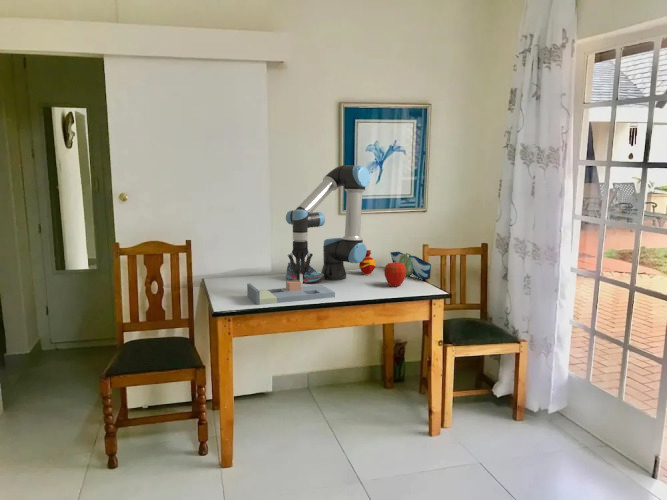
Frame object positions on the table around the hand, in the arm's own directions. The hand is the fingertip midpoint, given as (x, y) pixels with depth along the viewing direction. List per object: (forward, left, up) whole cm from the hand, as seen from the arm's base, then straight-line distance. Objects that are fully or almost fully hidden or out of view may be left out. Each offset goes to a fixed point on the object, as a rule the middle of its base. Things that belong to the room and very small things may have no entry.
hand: (300, 286), depth 273 cm
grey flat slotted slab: (+7, +4, -4) cm, 9 cm away
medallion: (-73, -17, -4) cm, 75 cm away
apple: (-53, +3, -4) cm, 54 cm away
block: (+4, 0, -1) cm, 4 cm away
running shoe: (-12, -27, -4) cm, 30 cm away
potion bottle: (-53, -29, -4) cm, 60 cm away
